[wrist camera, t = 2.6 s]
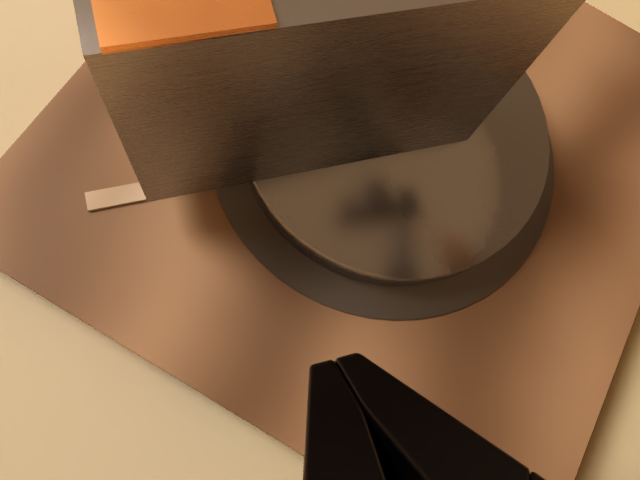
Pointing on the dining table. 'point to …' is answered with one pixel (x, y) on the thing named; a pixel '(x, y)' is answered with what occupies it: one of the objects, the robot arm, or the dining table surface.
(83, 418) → the dining table surface
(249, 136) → the dial knob
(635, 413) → the dining table surface
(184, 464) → the dining table surface
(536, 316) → the dial plate
